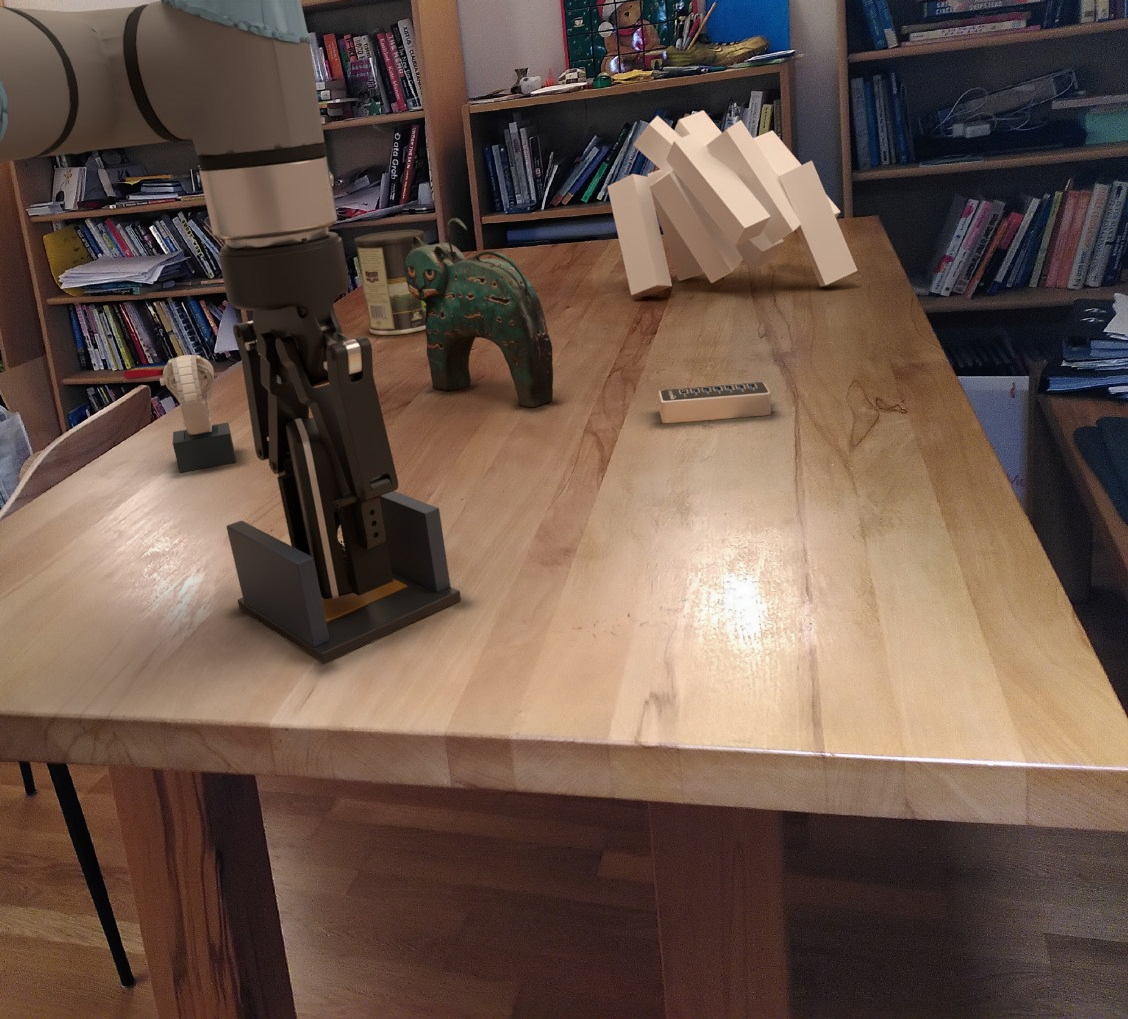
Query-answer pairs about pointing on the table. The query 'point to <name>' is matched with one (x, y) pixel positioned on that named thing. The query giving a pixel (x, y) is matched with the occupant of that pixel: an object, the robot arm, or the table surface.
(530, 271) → the table surface
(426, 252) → the ceramic cat
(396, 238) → the coffee can
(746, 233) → the pile of blocks
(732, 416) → the multiport hub
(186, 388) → the watch
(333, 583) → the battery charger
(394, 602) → the cradle
